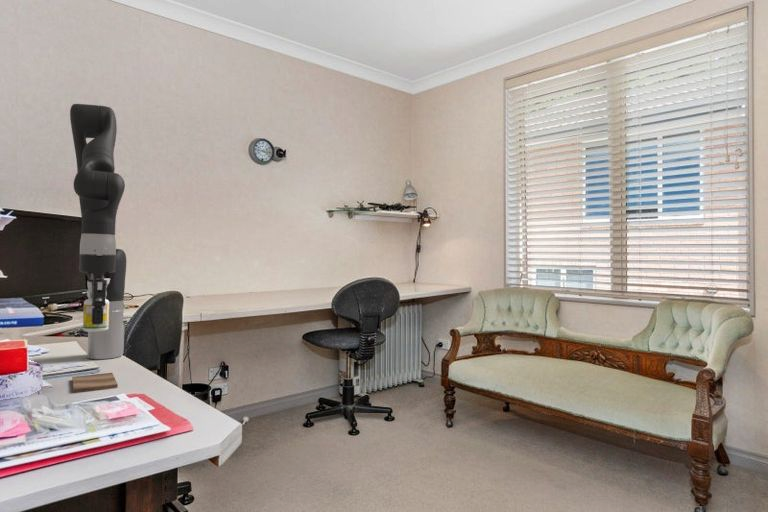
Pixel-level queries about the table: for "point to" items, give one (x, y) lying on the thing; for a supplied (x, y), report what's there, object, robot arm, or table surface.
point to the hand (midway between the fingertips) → (96, 322)
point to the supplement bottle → (88, 316)
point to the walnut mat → (94, 382)
